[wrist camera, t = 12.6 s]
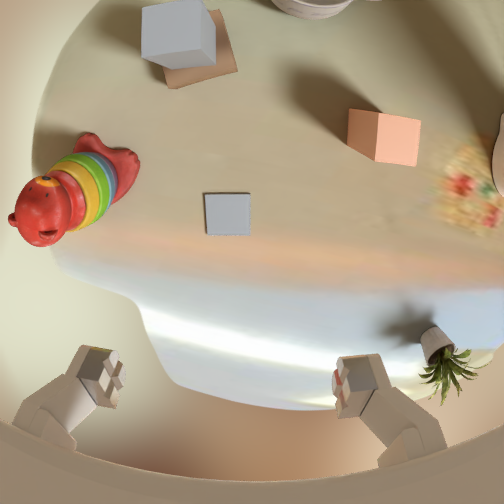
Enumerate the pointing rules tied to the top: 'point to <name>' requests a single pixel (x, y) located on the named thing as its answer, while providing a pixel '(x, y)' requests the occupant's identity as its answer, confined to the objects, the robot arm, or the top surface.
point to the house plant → (442, 360)
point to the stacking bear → (74, 191)
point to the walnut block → (197, 74)
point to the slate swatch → (228, 214)
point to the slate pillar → (178, 34)
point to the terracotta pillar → (384, 136)
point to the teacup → (312, 7)
